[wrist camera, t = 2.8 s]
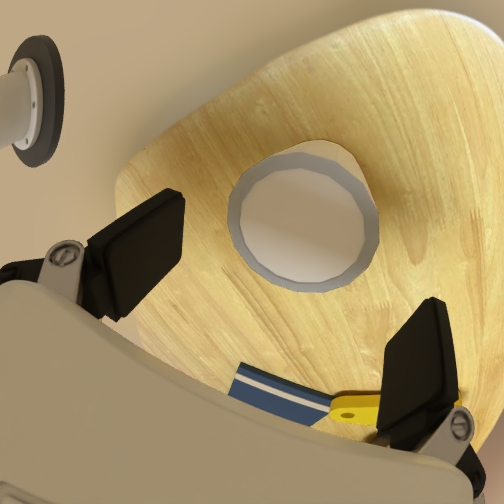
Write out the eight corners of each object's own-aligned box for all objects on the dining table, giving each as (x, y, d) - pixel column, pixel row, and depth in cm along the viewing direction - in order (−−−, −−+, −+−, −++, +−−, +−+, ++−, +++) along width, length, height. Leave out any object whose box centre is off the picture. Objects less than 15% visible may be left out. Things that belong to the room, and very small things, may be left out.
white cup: (321, 107, 14) (300, 115, 9) (394, 191, 15) (410, 249, 10) (250, 176, 18) (198, 220, 13) (317, 245, 20) (295, 313, 14)
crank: (470, 385, 21) (475, 427, 16) (445, 415, 25) (446, 451, 21) (333, 387, 27) (325, 433, 22) (328, 415, 31) (320, 453, 27)
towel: (226, 398, 40) (224, 402, 40) (241, 361, 32) (238, 367, 31) (303, 427, 38) (302, 431, 37) (342, 399, 30) (341, 405, 29)
